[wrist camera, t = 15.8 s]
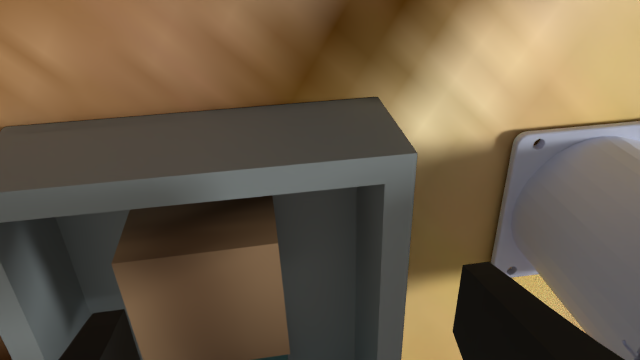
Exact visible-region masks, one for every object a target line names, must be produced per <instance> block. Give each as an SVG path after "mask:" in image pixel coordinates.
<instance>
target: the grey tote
mask: <svg viewBox="0 0 640 360" xmlns="http://www.w3.org/2000/svg"><path fill="white" fill-rule="evenodd" d="M416 164H417V152H416V150H415V149H414V148H413V146H412V145H411V143H410V142H409V141H408V139H407V138H406V136H405V135H404V133H403V132H402V131H401V129H400V128H399V126H398V125H397V123H396V122H395V121H394V119H393V118H392V116H391V115H390V114H389V112H388V111H387V109H386V108H385V106H384V105H383V104H382V102H381V101H380V99H379V98H378V97H371V98H359V99H346V100H334V101H321V102H309V103H296V104H284V105H272V106H259V107H247V108H234V109H222V110H209V111H197V112H185V113H172V114H160V115H147V116H135V117H122V118H110V119H98V120H85V121H73V122H60V123H48V124H36V125H23V126H11V127H4V128H3V129H2V130H1V131H0V336H1V338H2V340H3V342H4V344H5V346H6V348H7V350H8V352H9V354H10V356H11V358H12V360H59V358H60V357H61V356H62V354H63V353H64V351H65V350H66V349H67V347H68V346H69V345H70V343H71V342H72V340H73V339H74V338H75V336H76V335H77V334H78V332H79V331H80V329H81V328H82V327H83V325H84V324H85V323H86V321H87V320H88V318H89V317H90V316H91V315H92V314H93V313H98V312H105V311H113V310H121V309H125V312H126V316H127V319H128V322H129V325H130V328H131V332H132V335H133V338H134V341H135V344H136V348H137V351H138V354H139V357H140V360H143V358H142V355H141V352H140V349H139V346H138V343H137V340H136V337H135V334H134V331H133V328H132V325H131V322H130V319H129V316H128V313H127V310H126V307H125V304H124V301H123V298H122V295H121V292H120V289H119V286H118V283H117V280H116V277H115V274H114V271H113V268H112V265H111V263H112V260H113V258H114V255H115V252H116V249H117V246H118V243H119V240H120V237H121V234H122V231H123V228H124V225H125V222H126V220H127V217H128V214H129V211H130V210H131V209H141V208H151V207H161V206H171V205H181V204H191V203H201V202H211V201H221V200H231V199H240V198H250V197H260V196H270V195H272V196H273V204H274V213H275V221H276V229H277V238H278V246H279V256H280V265H281V274H282V283H283V292H284V301H285V311H286V320H287V329H288V338H289V347H290V354H288V360H401V354H402V341H403V329H404V316H405V303H406V291H407V278H408V265H409V253H410V240H411V227H412V215H413V202H414V189H415V177H416Z"/></svg>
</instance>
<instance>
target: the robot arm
mask: <svg viewBox="0 0 640 360" xmlns="http://www.w3.org/2000/svg"><path fill="white" fill-rule="evenodd" d="M538 139H540V141H539V143H538V144H537V145H535V146H533V144H534V142H535V141H536V140H538ZM510 267H511V268H510ZM509 268H510V269H509ZM535 274H539V275H540V276H541V277H542V278H543V280H544V281H545V282H546V283H547V285H548V286H549V287H550V288H551V290H552V291H553V292H554V293H555V295H556V296H557V297H558V298H559V300H560V301H561V302H562V303H563V305H564V306H565V307H566V308H567V309H568V311H569V312H570V313H571V314H572V316H573V317H574V318H575V319H576V321H577V322H578V323H579V324H580V326H581V327H582V328H583V329H584V331H585V332H586V333H587V334H588V335H587V334H586V333H584V332H583V331H582V330H580V329H579V328H577V327H576V326H575V325H573V324H572V323H570V322H569V321H568V320H566V319H565V318H563V317H562V316H561V315H559V314H558V313H557V312H555V311H554V310H553V309H551V308H550V307H549V306H547V305H546V304H545V303H543V302H542V301H541V300H539V299H538V298H537V297H535V296H534V295H533V294H531V293H530V292H529V291H527V290H526V289H525V288H523V287H522V286H521V285H519V284H518V283H517V282H516V281H514V280H513V279H512V278H511V277H519V276H527V275H535ZM453 333H454V336H455V339H456V342H457V344H458V347H459V350H460V353H461V355H462V358H463V360H640V121H634V122H623V123H612V124H601V125H590V126H580V127H569V128H558V129H547V130H536V131H526V132H522V133H520V134H519V135H517V137H516V138H515V139H514V142H513V146H512V151H511V157H510V162H509V168H508V173H507V178H506V184H505V189H504V194H503V200H502V205H501V211H500V216H499V221H498V227H497V232H496V237H495V243H494V248H493V254H492V259H491V263H490V262H484V263H476V264H468V265H463V267H462V274H461V280H460V287H459V294H458V300H457V307H456V313H455V320H454V326H453ZM59 360H140V357H139V354H138V351H137V348H136V344H135V341H134V338H133V335H132V332H131V328H130V325H129V322H128V319H127V316H126V312H125V309H121V310H113V311H105V312H98V313H93V314H92V315H91V316H90V317H89V318H88V320H87V321H86V323H85V324H84V325H83V327H82V328H81V329H80V331H79V332H78V334H77V335H76V336H75V338H74V339H73V340H72V342H71V343H70V345H69V346H68V347H67V349H66V350H65V351H64V353H63V354H62V356H61V357H60V358H59Z"/></svg>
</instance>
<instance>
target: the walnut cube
mask: <svg viewBox="0 0 640 360" xmlns="http://www.w3.org/2000/svg"><path fill="white" fill-rule="evenodd" d="M111 265H112V268H113V271H114V274H115V277H116V280H117V283H118V286H119V289H120V292H121V295H122V298H123V301H124V304H125V307H126V310H127V313H128V316H129V319H130V322H131V325H132V328H133V331H134V334H135V337H136V340H137V343H138V346H139V349H140V352H141V355H142V358H143V360H253V359H260V358H267V357H273V356H280V355H287V354H290V347H289V338H288V329H287V320H286V311H285V301H284V292H283V283H282V274H281V265H280V256H279V246H278V238H277V229H276V221H275V213H274V204H273V196H272V195H270V196H260V197H250V198H240V199H231V200H221V201H211V202H201V203H191V204H181V205H171V206H161V207H151V208H141V209H131V210H130V211H129V214H128V217H127V220H126V222H125V225H124V228H123V231H122V234H121V237H120V240H119V243H118V246H117V249H116V252H115V255H114V258H113V260H112V263H111Z"/></svg>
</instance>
